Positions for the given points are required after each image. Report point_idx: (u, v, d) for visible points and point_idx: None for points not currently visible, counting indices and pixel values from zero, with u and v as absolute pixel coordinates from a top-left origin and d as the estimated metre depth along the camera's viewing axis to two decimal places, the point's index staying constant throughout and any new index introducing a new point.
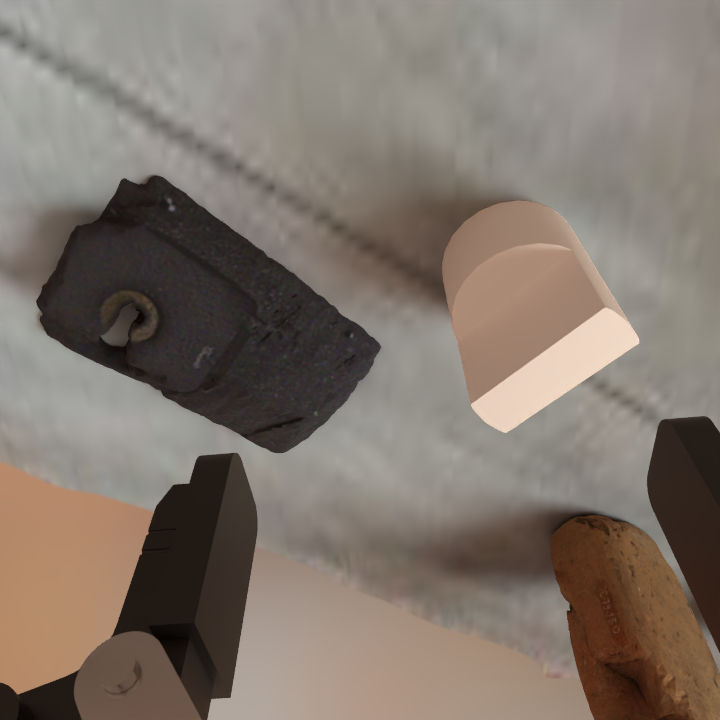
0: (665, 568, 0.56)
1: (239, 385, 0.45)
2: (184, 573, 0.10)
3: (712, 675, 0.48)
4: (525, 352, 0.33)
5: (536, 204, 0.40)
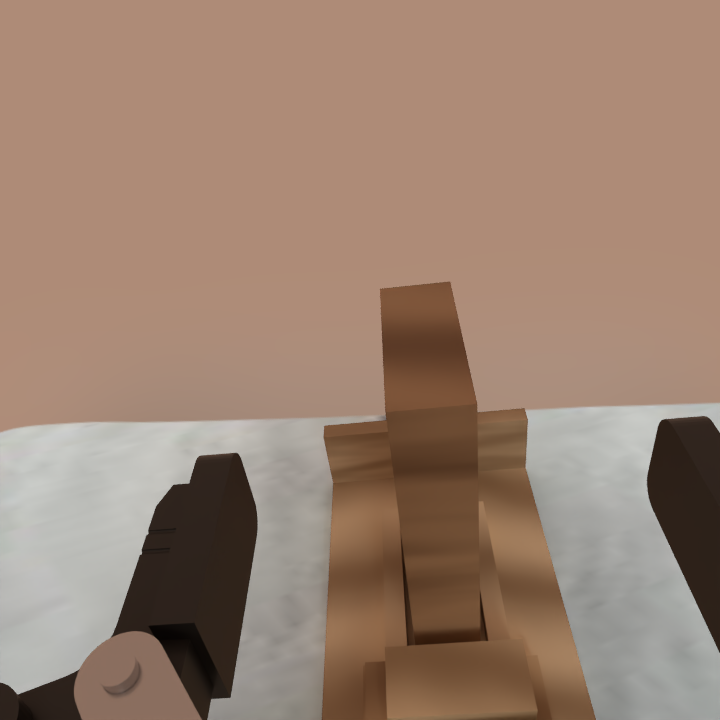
0: None
1: None
2: (184, 573, 0.10)
3: None
4: None
5: None
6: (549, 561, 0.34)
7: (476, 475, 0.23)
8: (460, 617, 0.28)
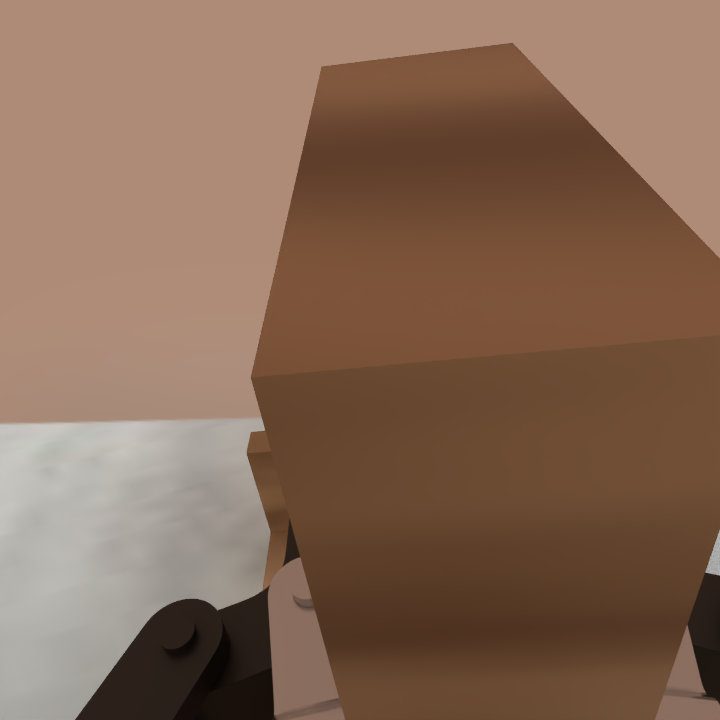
0: None
1: None
2: None
3: None
4: None
5: None
6: None
7: (670, 653, 0.06)
8: None
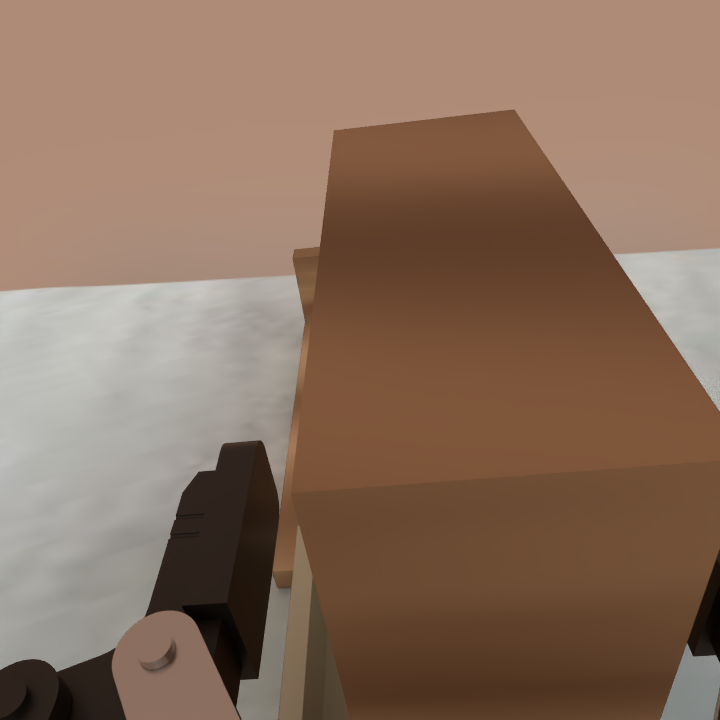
0: None
1: None
2: (214, 555, 0.10)
3: None
4: None
5: None
6: None
7: (657, 709, 0.06)
8: None
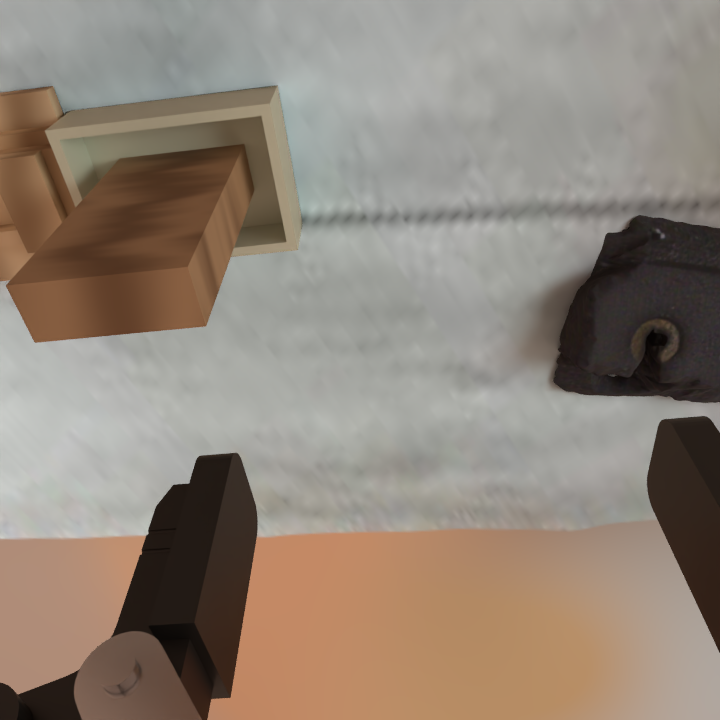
0: None
1: None
2: (184, 573, 0.10)
3: None
4: None
5: None
6: None
7: (204, 233, 0.30)
8: (238, 178, 0.37)
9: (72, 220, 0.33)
